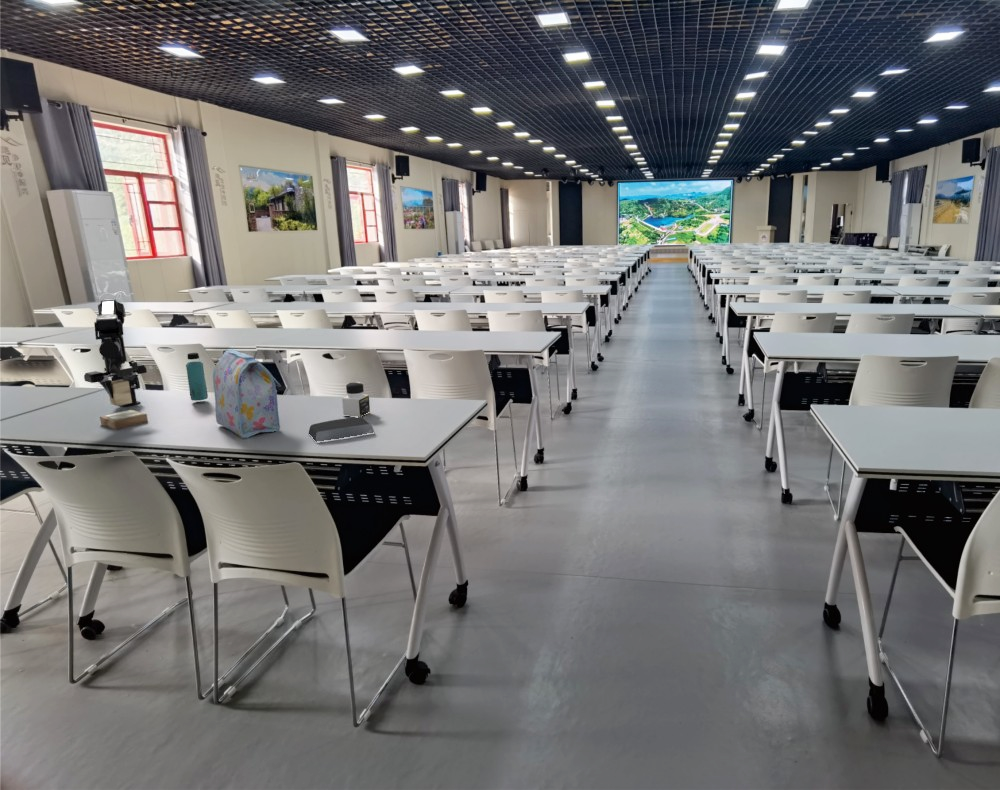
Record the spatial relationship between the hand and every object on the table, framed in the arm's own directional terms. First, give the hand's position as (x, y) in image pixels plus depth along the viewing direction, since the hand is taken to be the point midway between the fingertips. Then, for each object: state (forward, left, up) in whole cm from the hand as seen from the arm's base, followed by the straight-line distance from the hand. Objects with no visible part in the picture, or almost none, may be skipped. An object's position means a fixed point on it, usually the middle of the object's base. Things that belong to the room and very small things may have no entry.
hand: (120, 396), depth 231 cm
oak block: (0, 0, -3) cm, 3 cm away
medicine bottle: (+64, +52, -10) cm, 83 cm away
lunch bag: (+45, +21, -10) cm, 51 cm away
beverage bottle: (-4, +31, -10) cm, 33 cm away
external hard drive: (+77, +33, -11) cm, 84 cm away
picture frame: (0, 0, -10) cm, 10 cm away
